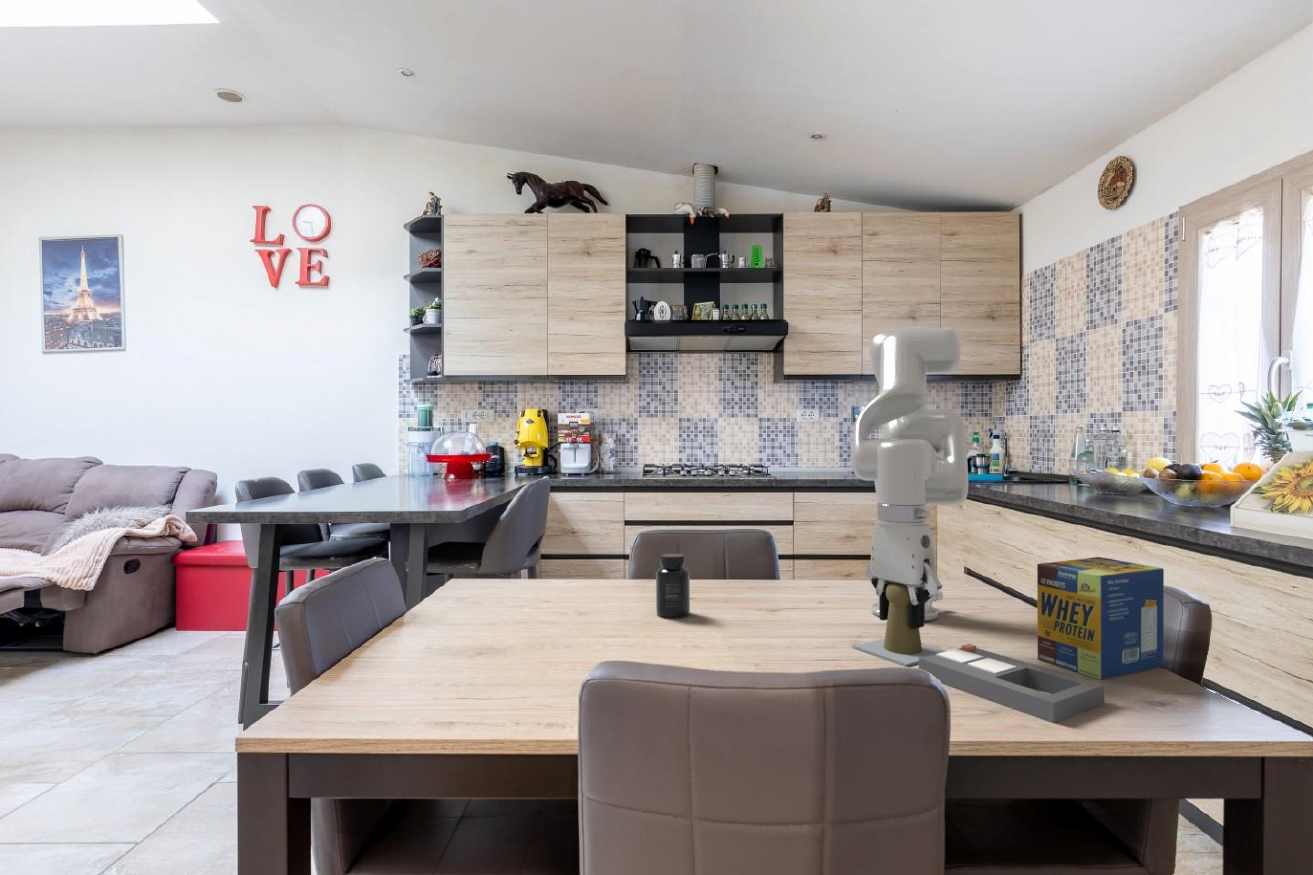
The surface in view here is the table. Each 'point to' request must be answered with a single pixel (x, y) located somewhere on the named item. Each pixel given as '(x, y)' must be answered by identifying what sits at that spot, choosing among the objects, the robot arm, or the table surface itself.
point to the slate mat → (902, 659)
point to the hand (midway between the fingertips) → (901, 622)
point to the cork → (900, 622)
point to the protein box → (1100, 616)
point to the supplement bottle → (672, 587)
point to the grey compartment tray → (1014, 682)
